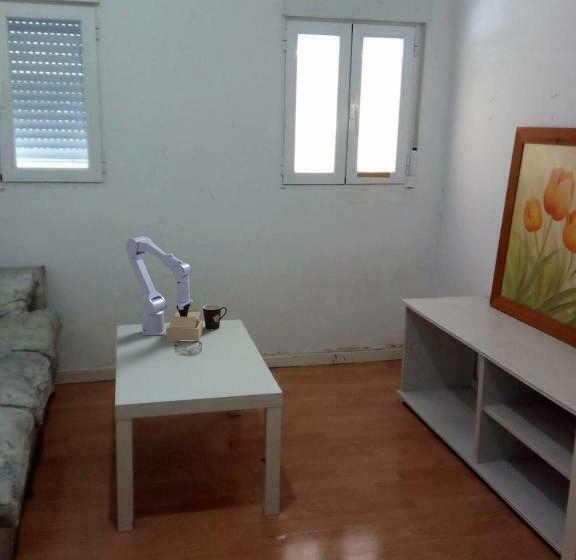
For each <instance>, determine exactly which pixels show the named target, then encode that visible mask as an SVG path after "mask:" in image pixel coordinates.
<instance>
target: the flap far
mask: <svg viewBox="0 0 576 560" xmlns="http://www.w3.org/2000/svg"><path fill="white" fill-rule="evenodd" d="M200 315H201V312H200V311H188V315H187V317H196V320H200ZM174 317H180V314H179V311H175V315H174Z"/></svg>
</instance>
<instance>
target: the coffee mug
mask: <svg viewBox="0 0 576 560" xmlns="http://www.w3.org/2000/svg"><path fill="white" fill-rule="evenodd" d="M223 309H225V311H224V313H223V315H221V313H222V310H223ZM202 311H203V312H202V313H203V320H204V325H205V329H206V328H207V329H206V330H208V329H213V330H212V331H214V329H216V330H219V329H220V326H221V320H222V319H223V318H224V317H225V315H226V314H227V312H228V309H227V307H224V306H221V305H220V304H217V303H213V304H210V303H209V304H205V305H203V306H202ZM218 328H219V329H218Z"/></svg>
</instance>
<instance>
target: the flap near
mask: <svg viewBox="0 0 576 560" xmlns="http://www.w3.org/2000/svg"><path fill="white" fill-rule="evenodd" d="M169 318H170V319H169V323H170V328H195V323H196V317H175V316H170V317H169Z"/></svg>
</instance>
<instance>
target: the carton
mask: <svg viewBox="0 0 576 560" xmlns="http://www.w3.org/2000/svg"><path fill="white" fill-rule="evenodd" d="M165 328H166V331H165V336H166V338H165V339H166V343H167V342H169V343H170V342H171V343H172V342H173V343H175V341H180V340H196V341H199V342H200V339H201V338H202V336H201V335H203V331H204V330H203V320H202V319H201V320H200V319H199V320H196V323H195V328H170V322H169V323H168V325H167V326H166V327H165Z"/></svg>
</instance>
